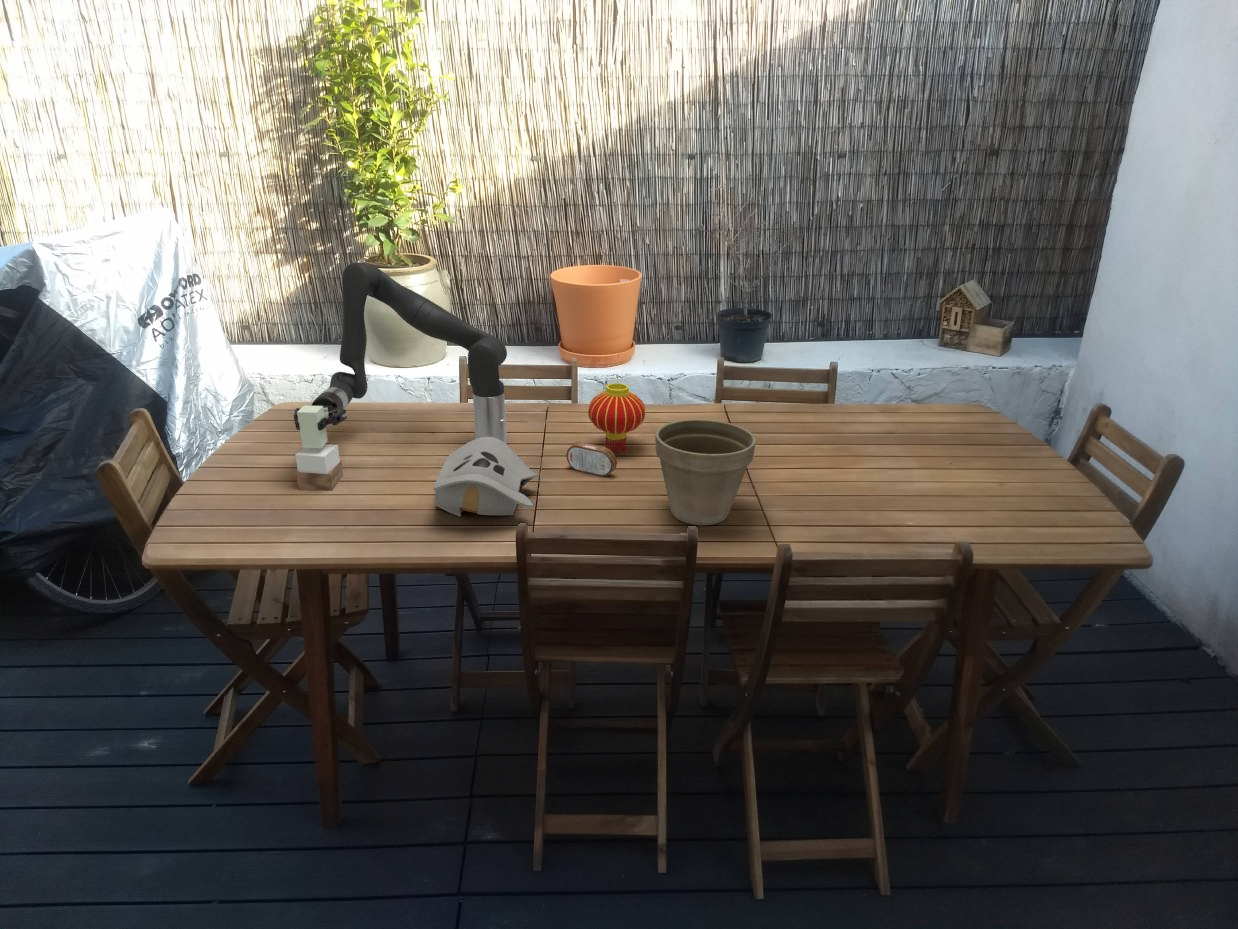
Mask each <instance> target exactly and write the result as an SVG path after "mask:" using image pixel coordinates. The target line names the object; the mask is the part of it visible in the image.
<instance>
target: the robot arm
mask: <svg viewBox="0 0 1238 929" xmlns="http://www.w3.org/2000/svg"><path fill="white" fill-rule="evenodd" d="M341 276H342V279H341V281H342V282H341V283H342V286H341V287H342V305H343V306H342V311H343V312H342V313H343V314H342V334H341V335H342V336H341V344H340V352H339V362H340V364H341V365H344V366H347V367H349V368H350V369H352V371H353V373H351V372H350V373H349V372H346V371H337V372H334V373H333V374H332V376H331V378H330V382H329V383H330V384H329V386H328V387H327V389H325V390H323V392H321V393H320V394H319V395H318V396H317V397H316V398H315V399H313V401H312V403H311V405H310V406H323V409H324V418H322V419H321V420H320V421H319V422H318V423H317V426H318V430H319V431H321V430H322V429H324V428H325V427H326V428H327V427H329V426H330V425H332V426H337V425H339V424H341V423H342V422H344V421H345V420H347V419H348V418H347V416H348V415H347V410H346V407H347V406H348V404H350V403H351V401H352V400H353V399H356V400H357V399H358V400H359V399H362V398H364V397H365V396H366V394H367V392H368V380H367V374H366V367H365V366H366V365H365V358H366V352H367V351H366V350H367V341H368V338H367V336H368V334H367V328H366V323H365V322H366V321H365V307H366V301H367V299H368V298H367V297H371V298H373V299H375V300H378V301H379V302H381V303H383V304H385V305H386V306H388V307H389V308H391V309H392V310H393V311H394V312H395V313H396V314H397V315H398V316H399V317H400V318H401V320H403V321H404V322H405V323H407V324H408V325H409V326H411V327H412V328H414V329H416V330H417V331H419V332H420V333H422V334H424V335H426V336H428V337H430V338H434V339H437V340H441V341H444V342H447V343H451V344H454V345H458V346H459V347H462V348H463V349H465V350H466V351H467V367H468V369H467V370H468V381H469V384H470V386H471V388H472V402H473V403H472V404H473V407H472V408H473V425H474V440H475V439H477V438H481V437H494V438H497V439H499V440H501V441H503V442H504V443H505V444H506V445H508V429H507V426H508V425H507V424H508V423H507V422H508V421H507V414H506V408H505V407H506V404H505V385H504V382H503V381H502V380H500V370H499V367H500V366H501V365H502V364H503V363H504V362H505V361H506V359H507V357H508V351H507V347H506V345H505V344H504V343H503V341H502V340H501V339H499V338H498V337H495V336H494V335H492V334H490V333H487V332H486V331H484V330H482V329H479V328H477V327H475V326H473V325H471V324H469V323H468V322H466V321H464V320H463V319H462V318H459V317H458V316H456V315H454V314H453V313H451V312H449V311H448V310H446V309H445V308H443V307H441V306H440V305H439V304H436V302H434V301H431V299H428V298H427V297H426V296H423V295H421V294H419V293H418V292H415V291H414V290H412V289H410V288H408V287H406V286H403V284H400V283H399V282H398V281H396V280H395V279H393V278H392V277H391V276H389V275H388V274H386V273H385V272H384V271H382V270H381V269H380V268H379V267H378V266H375V265H374V264H372V263H370V262H369V263H368V262H359V261H358V262H357V261H356V262H351V263H349V264H347V265H346V266H345V267H344V269H343V272H342V275H341ZM300 409H301V407H297V408H295V410H294V412H293V420H294V425H295V428H296V429H297V431H300V426H299V422H298V416H297V412H298V411H299V410H300Z"/></svg>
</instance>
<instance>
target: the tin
mask: <svg viewBox="0 0 1238 929" xmlns="http://www.w3.org/2000/svg"><path fill="white" fill-rule="evenodd" d="M566 461H567V463H568V465H569V466H570V468H572V469H573V470H575V471H577V472H581V473H586V474H591V475H595V476H599V477H606V476H609V475H610V474H612V473H613V472H614V471H615V470H616V468H617V466H618V462H617V456H616V455H615V452H614V453H613V450H612V451H611V449H610V448H609V449H608V448H606V446H601V445H596V444H593V443H592V444H591V443H587V442H582V441H577V442H574V443H573V444H571V446H569V448H568V449H567V450H566Z"/></svg>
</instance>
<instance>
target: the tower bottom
mask: <svg viewBox="0 0 1238 929" xmlns="http://www.w3.org/2000/svg"><path fill="white" fill-rule="evenodd" d="M295 475H296V481H297V487H298V491H299V490H301V491H303V490H304V491H334V489H335V488H336V486H337V485H338V484H339V482H341V479H342V478H343V477H344V474H343V464H342V460H341V459H340V462H339V463H338V464H337V465H336V466H335V467H334V468H333V469H332V470H331V471H330V472H329V473H328V474H319V473H305V472H298V471H296V474H295Z"/></svg>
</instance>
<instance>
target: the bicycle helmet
mask: <svg viewBox="0 0 1238 929" xmlns="http://www.w3.org/2000/svg"><path fill="white" fill-rule="evenodd" d="M537 477H540V473H535V472H534V471H532V470H531V469H530V468H529V467H528V466H527V465H526V463H525V462H524V461H523V460H522V459H521V458H520V457H519V456H518V455H517V454H516V452H515V451H514V450H513V449H512V448H511V447H510V446H509V445H508V444H507V445H506V444H505V443H504V442H503V441H501V440H499V439H497V438H494V437H481V438H477V439H475V438H474V439H473V440H470V441H468V442H467V443H465V444H462V445H461V446H460V447H459V448H457V449H456V450H454V451H453V452H451V453H450V454H448V456H447V457H446V458H445V461H444V464H443V466H442V468H441V470H440V471H439V474H438V478H436V481H435V483H434V486H433V489H432V490H433V491H435V494H434V498H435V499H434V500H435V501H434V505H435V506H436V507H438V508H440V509H442V510H444V511H445V512H448V513H450V514H452V515H455V516H457V517H461V516H462V512H464V511H466V512H470V513H474V514H477V515H484V516H514V513H515V511H516V509H517V506H518V504H519V505H521V506H523V507H527V508H532V507H534V504H533V503H532V501H531V500H530V499H529V497H527V496H526V495H525V494H523V493H522V491H523V487H524V486H525V485H527V483H529V482H530V481H531V480H533V479H534V478H537Z"/></svg>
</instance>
